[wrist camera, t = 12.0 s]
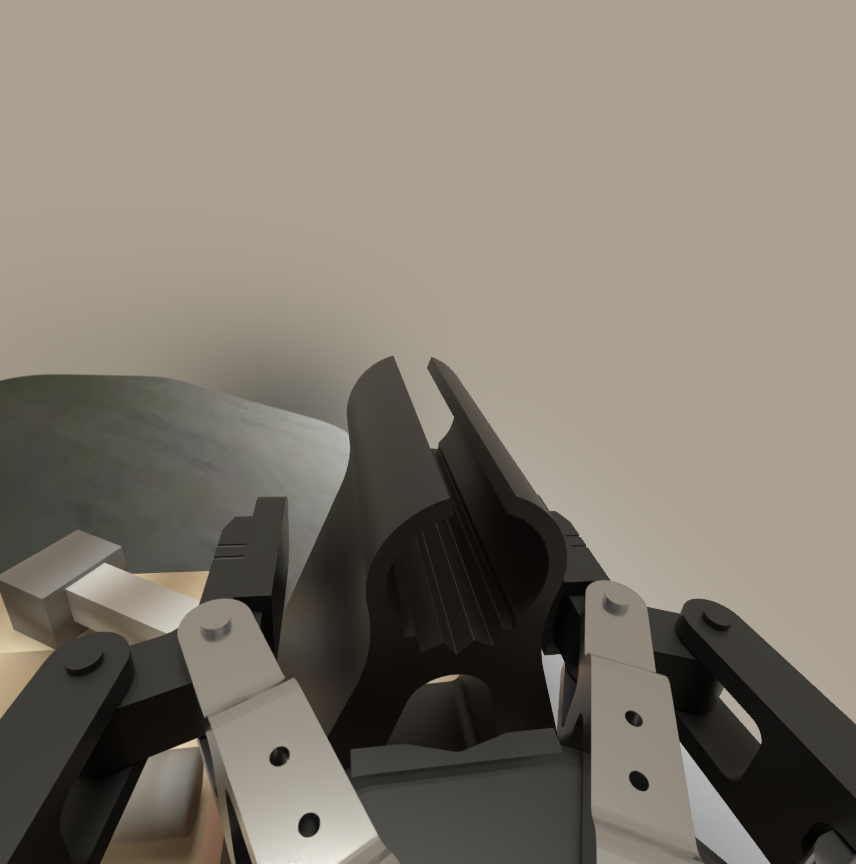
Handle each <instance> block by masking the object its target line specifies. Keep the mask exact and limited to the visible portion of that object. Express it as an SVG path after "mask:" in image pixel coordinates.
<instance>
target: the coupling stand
mask: <svg viewBox="0 0 856 864" xmlns="http://www.w3.org/2000/svg"><path fill="white" fill-rule="evenodd" d="M208 574H209V571H201V572H175V573H149V574H131V573H129V572H127V569H126V564H125V559H124V555H123V550H122V547H121V546H119V545H116V544H114V543H111V542H108V541H106V540H103V539H101V538H98V537H96V536H93V535H90V534H88V533H85V532H83V531H80V530H77V531H75V532H73V533H71V534H70V535H68V536H66V537H64V538H63V539H61V540H59V541H58V542H56V543H54V544H52V545H51V546H49V547H47V548H45V549H44V550H42V551H40V552H38V553H37V554H35V555H33V556H32V557H30V558H28V559H26V560H25V561H23V562H21V563H19V564H18V565H16V566H14V567H12V568H11V569H9V570H7V571H6V572H4V573H2V574H0V719H1V717H2V716H3V715H4V713H5V712H6V711H7V709H8V708H9V707H10V706H11V704H12V703H13V702H14V700H15V699H16V698H17V696H18V695H19V694H20V693H21V691H22V690H23V689H24V687H25V686H26V685H27V683H28V682H29V681H30V680H31V678H32V677H33V676H34V674H35V673H36V672H37V670H38V669H39V668H40V666H41V665H42V664H43V663H44V661H45V660H46V659H47V658H48V657H49V656H50V655H51V654H52V653H53V652H54V651H55V650H56V649H58V648H59V647H61V646H62V645H64V644H65V643H67V642H69V641H71V640H73V639H75V638H77V637H80V636H83V635H86V634H90V633H95V632H113V633H117V634H119V635H121V636H123V637H124V638H125V639H126V640H127V641H128V643H129V646H130V645H133V644H136V643H140V642H143V641H146V640H150V639H153V638H156V637H159V636H162V635H165V634H167V633H169V632H172V631H173V630H175V629H177V628H178V627H179V624H180V622H181V621H182V619H183V618H184V617H185V615H186V614H187V613H189V612H190V611H191V610H192V609H194V608H195V607H197V606H198V605H199V603H200V600H201V596H202V593H203V590H204V587H205V584H206V581H207V578H208ZM458 677H459V675H449V676H444V677H440V678H437V679H435V680H432V681H430V682H428V683H426V684H429V683H438V682H448V681H453V680H455V679H456V678H458ZM223 840H224V833H223V828H222V824H221V820H220V816H219V812H218V809H217V805H216V802H215V799H214V795H213V792H212V789H211V785H210V782H209V779H208V776H207V772H206V769H205V766H204V762H203V759H202V756H201V753H200V749H199V746H198V743H197V739H194V740H191V741H189V742H186V743H184V744H181V745H179V746H176V747H174V748H171V749H169V750H166V751H164V752H161V753H159V754H156V755H154V756H151V757H149V758H148V760H147V762H146V764H145V767H144V769H143V771H142V773H141V775H140V778H139V780H138V782H137V784H136V786H135V789H134V791H133V793H132V795H131V797H130V799H129V802H128V804H127V806H126V808H125V810H124V813H123V815H122V817H121V819H120V821H119V824H118V826H117V828H116V830H115V832H114V835H113V837H112V839H111V841H110V843H109V845H108V848H107V850H106V852H105V854H104V856H103V859H102V861H101V863H100V864H220V860H221V853H222V846H223Z"/></svg>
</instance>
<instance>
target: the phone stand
mask: <svg viewBox="0 0 856 864" xmlns="http://www.w3.org/2000/svg"><path fill="white" fill-rule="evenodd" d="M427 369H428V370H429V372H430V374H431V376H432V378H433V380H434V381H435V383H436V385H437V387H438V389H439V390H440V392H441V394H442V396H443V398H444V400H445V401H446V403H447V405H448V407H449V409H450V410H451V412H452V414H453V416H454V420H453V423H452V425H451V428H450V430H449V431H448V433H447V434H446V436H445V437H444V438H443V439H442V440H441V441H440V442H439V445H438V449H430V447H429V444H428V442H427V439H426V437H425V434H424V432H423V429H422V427H421V424H420V422H419V419H418V417H417V414H416V412H415V409H414V407H413V404H412V402H411V399H410V397H409V394H408V391H407V389H406V387H405V384H404V381H403V379H402V376H401V374H400V372H399V369H398V367H397V364H396V361H395V359H394V356H391V357H388V358H385V359H383V360H381V361H379V362H377V363H376V364H374V365H373V366H372V367H370V368H369V369H368V370H367V371H366V372H364V373H363V375H362V376H361V377H360V378H359V379H358V381H357V382H356V384H355V386H354V387H353V389H352V391H351V394H350V397H349V401H348V406H347V421H348V430H349V440H350V457H349V463H348V467H347V471H346V474H345V477H344V480H343V482H342V484H341V487H340V489H339V491H338V493H337V495H336V498H335V500H334V502H333V504H332V507H331V509H330V511H329V513H328V515H327V518H326V520H325V522H324V524H323V527H322V529H321V531H320V533H319V535H318V538H317V540H316V542H315V544H314V547H313V549H312V551H311V553H310V555H309V558H308V560H307V562H306V564H305V567H304V569H303V571H302V573H301V575H300V578H299V580H298V582H297V584H296V587H295V589H294V591H293V593H292V595H291V598H290V600H289V602H288V604H287V607H286V609H285V611H284V613H283V617H282V625H281V633H280V642H279V650H278V659H277V663H278V665H279V667H280V669H281V671H282V673H283V675H284V677H285V678H287V677H290V676H293V677H294V678H295V679H296V681H297V682H298V684H299V685H300V687H301V689H302V691H303V693H304V695H305V697H306V699H307V701H308V703H309V704H310V706H311V708H312V710H313V712H314V714H315V716H316V718H317V720H318V722H319V723H320V725H321V727H322V729H323V731H324V733H325V735H326V737H327V739H328V741H329V743H330V744H331V746H332V748H333V750H334V752H335V754H336V756H337V758H338V760H339V762H340V764H341V765H342V767H343V769H344V770H345V769H348V768H350V756H351V749H359V748H368V747H378V746H387V745H396V744H409V745H415V746H421V747H428V748H434V749H441V750H447V751H453V752H460V751H464V750H466V749H469V748H471V747H474V746H476V745H478V744H481V743H483V742H486V741H488V740H490V739H493V738H495V737H498V736H500V735H502V734H505V733H509V732H518V731H527V730H537V729H546V728H554V730H555V733H556V735H557V731H556V726H555V722H554V717H553V712H552V708H551V703H550V698H549V693H548V689H547V684H546V679H545V675H544V670H543V665H542V655H541V646H542V636H543V631H544V626H545V623H546V619H547V616H548V613H549V610H550V608H551V606H552V603H553V601H554V599H555V597H556V595H557V593H558V591H559V589H560V587H561V584H562V582H563V579H564V575H565V572H566V566H567V549H566V543H565V540H564V537H563V534H562V532H561V530H560V528H559V526H558V525H557V523H556V522H555V520H554V519H553V517H552V516H551V514H550V513H549V511H548V510H547V508H546V507H545V505H544V504H543V503H542V501H541V500H540V498H539V497H538V495H537V494H536V492H535V491H534V489H533V488H532V486H531V485H530V483H529V482H528V481H527V479H526V477H525V476H524V474H523V473H522V472H521V470H520V469H519V467H518V466H517V464H516V463H515V461H514V460H513V458H512V457H511V455H510V454H509V453H508V451H507V450H506V448H505V446H504V445H503V444H502V442H501V441H500V439H499V438H498V436H497V435H496V433H495V432H494V430H493V429H492V427H491V426H490V424H489V423H488V422H487V420H486V418H485V417H484V415H483V414H482V412H481V411H480V410H479V408H478V407H477V405H476V404H475V402H474V401H473V399H472V398H471V396H470V395H469V393H468V392H467V390H466V389H465V388H464V386H463V384H462V383H461V382H460V380H459V379H458V377H457V376H456V374H455V373H454V372H453V371H452V370H451V369H450V368H449V367H448V366H447V365H445V364H444V363H443V362H441V361H439V360H437V359H435V358H433V357H431V360H430V362H429V364H428V367H427ZM449 675H459V677H458V678H456V679H455V680H453V681H448V682H438V683H429V684H426V683H428V682H430V681H432V680H435V679H437V678H440V677H444V676H449ZM557 738H558V736H557ZM220 864H232V863H231V860H230V856H229V853H228V849H227V845H226V841H225V837H224V840H223V846H222V853H221V860H220Z"/></svg>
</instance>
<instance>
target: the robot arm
mask: <svg viewBox="0 0 856 864" xmlns="http://www.w3.org/2000/svg"><path fill="white" fill-rule="evenodd" d="M538 497H539V498H540V500H541V501H542V499H541V497H540V496H539V495H538ZM542 503H543V504H544V502H543V501H542ZM544 505H545V504H544ZM545 507H546V505H545ZM546 508H547V507H546ZM547 510H548V508H547ZM548 511H549V510H548ZM549 513H550V514H551V516H552V517H553V519H554V520H555V522H556V523H557V525H558V526H559V528H560V530H561V532H562V534H563V537H564V540H565V543H566V549H567V566H566V572H565V575H564V579H563V582H562V584H561V587H560V589H559V591H558V593H557V595H556V597H555V599H554V601H553V603H552V606H551V608H550V610H549V613H548V616H547V619H546V623H545V626H544V631H543V636H542V646H541V649H542V651H543V653H544V655H555V654H561V655H562V657H563V660H564V664H563V667H562V670H561V679H560V695H559V710H558V725H557V735H556V733H555V730H554V728H546V729H537V730H527V731H518V732H509V733H505V734H502V735H500V736H498V737H495V738H493V739H490V740H488V741H486V742H483V743H481V744H478V745H476V746H474V747H471V748H469V749H466V750H464V751H460V752H453V751H447V750H441V749H434V748H428V747H421V746H415V745H409V744H396V745H387V746H378V747H368V748H359V749H351V756H350V768H348V769H345V770H344V769H343V767H342V765H341V764H340V762H339V760H338V758H337V756H336V754H335V752H334V750H333V748H332V746H331V744H330V743H329V741H328V739H327V737H326V735H325V733H324V731H323V729H322V727H321V725H320V723H319V722H318V720H317V718H316V716H315V714H314V712H313V710H312V708H311V706H310V704H309V703H308V701H307V699H306V697H305V695H304V693H303V691H302V689H301V687H300V685H299V684H298V682H297V681H296V679H295V678H294V677H293V676H290V677H287V678H285V677H284V675H283V673H282V671H281V669H280V667H279V665H278V663H277V659H278V650H279V642H280V633H281V625H282V617H283V608H284V600H285V591H286V583H287V574H288V565H289V524H288V499H287V497H258V498H257V501H256V505H255V510H254V514H253V516H250V517H235V518H234V519H233V520H232V521H231V522H230V523H229V524H228V525H227V526H226V527H225V528H224V529H223V530H222V533H221V537H220V540H219V543H218V547H217V549H216V552H215V556H214V559H213V562H212V565H211V568H210V571H209V574H208V578H207V581H206V584H205V587H204V590H203V593H202V596H201V600H200V603H199V605H198V606H197V607H195V608H194V609H192V610H191V611H190V612H189V613H187V614H186V615H185V617H184V618H183V619H182V621H181V622H180V624H179V627H178V628H177V629H175V630H173V631H172V632H169V633H167V634H165V635H162V636H159V637H156V638H153V639H150V640H146V641H143V642H140V643H136V644H133V645H130V646H129V643H128V641H127V640H126V639H125V638H124V637H123V636H121V635H119V634H117V633H113V632H95V633H90V634H86V635H83V636H80V637H77V638H75V639H73V640H71V641H69V642H67V643H65V644H64V645H62V646H61V647H59V648H58V649H56V650H55V651H54V652H53V653H52V654H51V655H50V656H49V657H48V658H47V659H46V660H45V661H44V663H43V664H42V665H41V666H40V668H39V669H38V670H37V672H36V673H35V674H34V676H33V677H32V678H31V680H30V681H29V682H28V683H27V685H26V686H25V687H24V689H23V690H22V691H21V693H20V694H19V695H18V696H17V698H16V699H15V700H14V702H13V703H12V704H11V706H10V707H9V708H8V709H7V711H6V712H5V713H4V715H3V716H2V717H1V719H0V864H100V863H101V861H102V859H103V856H104V854H105V852H106V850H107V848H108V845H109V843H110V841H111V839H112V837H113V835H114V832H115V830H116V828H117V826H118V824H119V821H120V819H121V817H122V815H123V813H124V810H125V808H126V806H127V804H128V802H129V799H130V797H131V795H132V793H133V791H134V789H135V786H136V784H137V782H138V780H139V778H140V775H141V773H142V771H143V769H144V767H145V764H146V762H147V760H148V758H149V757H151V756H154V755H156V754H159V753H161V752H164V751H166V750H169V749H171V748H174V747H176V746H179V745H181V744H184V743H186V742H189V741H191V740H194V739H197V743H198V746H199V749H200V753H201V756H202V759H203V762H204V766H205V769H206V772H207V776H208V779H209V782H210V785H211V789H212V792H213V795H214V799H215V802H216V805H217V809H218V812H219V816H220V820H221V824H222V828H223V833H224V837H225V841H226V845H227V849H228V853H229V856H230V860H231V863H232V864H727V863H726V862H725V861H724V860H723V859H721V858H720V857H719V856H718V855H717V854H715V853H714V852H713V851H712V850H710V849H709V848H708V847H707V846H706V845H704V844H703V843H702V842H701V841H700V840H698V839H697V838H696V837H695V834H694V828H693V821H692V815H691V809H690V803H689V797H688V791H687V785H686V779H685V773H684V767H683V760H682V754H681V748H680V742H681V744H682V745H683V746H684V748H685V749H686V750H687V752H688V753H689V754H690V756H691V757H692V758H693V760H694V761H695V762H696V764H697V765H698V766H699V768H700V769H701V771H702V772H703V773H704V775H705V776H706V777H707V779H708V780H709V781H710V783H711V784H712V785H713V787H714V788H715V789H716V791H717V792H718V793H719V795H720V796H721V797H722V799H723V800H724V801H725V803H726V804H727V805H728V807H729V808H730V810H731V811H732V812H733V814H734V815H735V816H736V818H737V819H738V820H739V822H740V823H741V824H742V826H743V827H744V828H745V830H746V831H747V832H748V834H749V835H750V836H751V838H752V839H753V840H754V842H755V843H756V844H757V846H758V847H759V849H760V850H761V851H762V853H763V854H764V855H765V857H766V858H767V859H768V861H769V862H770V863H771V864H856V724H855V723H853V721H851V720H850V719H849V718H848V717H847V716H846V715H845V714H844V713H843V712H841V710H839V709H838V708H837V707H836V706H835V705H834V704H833V703H832V702H831V701H830V700H829V699H828V698H827V697H825V696H824V695H823V694H822V693H821V692H820V691H819V690H818V689H817V688H816V687H815V686H814V685H812V684H811V683H810V682H809V681H808V680H807V679H806V678H805V677H804V676H803V675H802V674H800V673H799V672H798V671H797V670H796V669H795V668H794V667H793V666H792V665H791V664H790V663H789V662H787V661H786V660H785V659H784V658H783V657H782V656H781V655H780V654H779V653H778V652H777V651H776V650H775V649H773V648H772V647H771V646H770V645H769V644H768V643H767V642H766V641H765V640H764V639H763V638H761V637H760V636H759V635H758V634H757V633H756V632H755V631H754V630H753V629H752V628H750V626H749V625H747V624H746V623H745V622H744V621H743V620H742V619H741V618H740V617H739V616H737V615H736V614H735V613H734V612H732V611H731V610H730V609H728V608H726V607H725V606H722V605H720V604H718V603H716V602H713V601H709V600H705V599H692V600H689V601H687V602H686V603H685V604H684V606H683V608H682V611H681V613H680V614H679V613H674V612H669V611H664V610H659V609H654V608H650V607H647V606H646V604H645V602H644V601H643V599H642V598H641V597H640V596H639V595H638V594H637V593H636V592H634V591H633V590H632V589H630V588H628V587H627V586H624V585H622V584H620V583H617V582H613V581H610V579H609V578H608V576H607V575H606V573H605V572H604V571H603V569H602V568H601V566H600V565H599V564H598V562H597V560H596V559H595V557H594V556H593V555H592V553H591V552H590V550H589V549H588V548H587V547H586V544H585V543H584V541H583V540H582V538H581V537H579V534H578V533H577V531H576V530H575V528H574V527H573V525H572V524H571V522H569V521H568V520H567V519H566V518H564V517H563V516H562V515H560V514H559V513H558V512H556V511H549ZM723 688H725V689H726V690H727V691H728V692H729V693H730V694H731V695H732V697H733V698H734V699H735V700H736V701H737V702H738V703H739V704H740V705H741V706H742V707H743V709H744V710H745V711H746V712H747V713H748V714H749V715H750V716H751V718H752V719H753V720H754V721H755V723H756V724H757V726H758V728H759V730H760V733H761V738H762V743H761V744H760V743H759V742H758V741H757V740H756V739H755V738H754V736H753V735H752V734H751V733H750V732H749V731H748V730H747V729H746V727H744V725H743V724H742V723H741V722H740V721H739V719H737V717H736V716H735V715H734V714H733V713H732V712H731V711H730V709H729V708H728V707H727V706H726V705H725V704H724V703H723V701H722V700H721V699H720V698H719V696H720V694H721V692H722V690H723ZM557 736H558V738H557ZM679 741H680V742H679Z"/></svg>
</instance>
